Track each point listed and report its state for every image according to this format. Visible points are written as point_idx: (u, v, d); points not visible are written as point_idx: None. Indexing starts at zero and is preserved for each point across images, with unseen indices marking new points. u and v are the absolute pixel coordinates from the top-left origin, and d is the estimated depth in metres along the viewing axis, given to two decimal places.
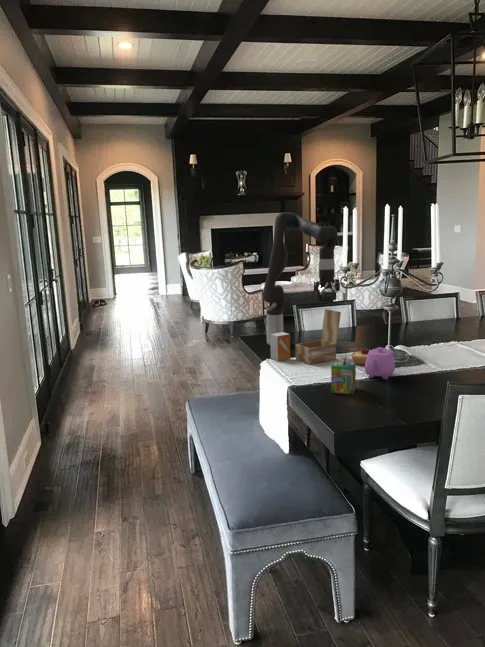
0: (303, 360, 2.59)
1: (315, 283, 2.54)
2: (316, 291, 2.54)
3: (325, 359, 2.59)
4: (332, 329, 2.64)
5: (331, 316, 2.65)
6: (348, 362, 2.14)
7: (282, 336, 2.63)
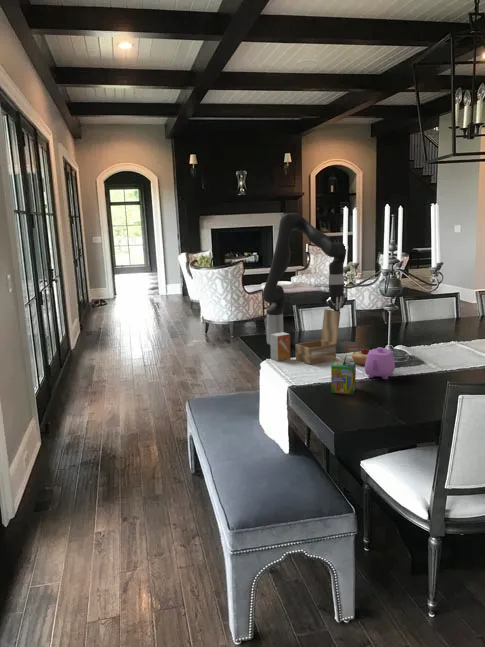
0: (303, 360, 2.59)
1: (327, 302, 2.63)
2: (332, 308, 2.64)
3: (325, 359, 2.59)
4: (332, 329, 2.64)
5: (331, 316, 2.65)
6: (348, 362, 2.14)
7: (282, 336, 2.63)
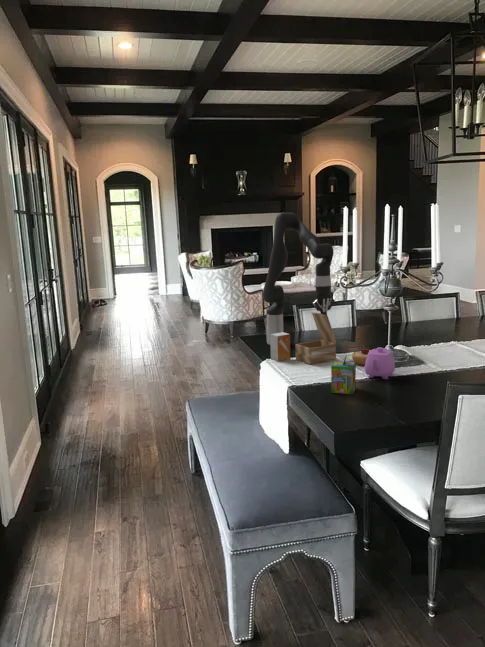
0: (303, 360, 2.59)
1: (314, 304, 2.59)
2: (319, 310, 2.60)
3: (325, 359, 2.59)
4: (327, 331, 2.62)
5: (320, 319, 2.62)
6: (348, 362, 2.14)
7: (282, 336, 2.63)
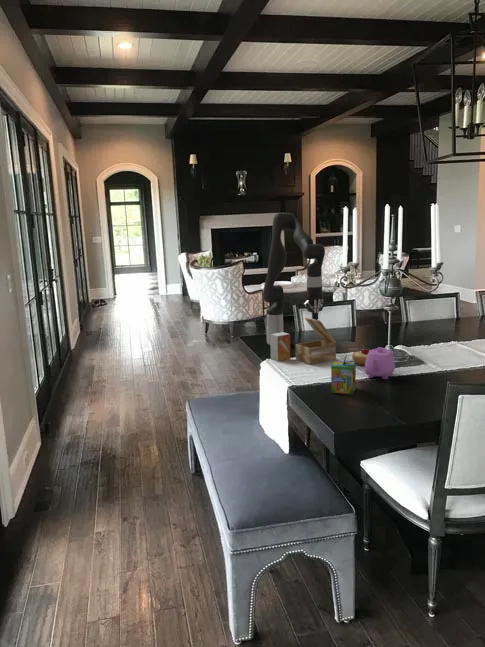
0: (303, 360, 2.59)
1: (305, 305, 2.56)
2: (310, 311, 2.57)
3: (325, 359, 2.59)
4: (324, 333, 2.62)
5: (315, 324, 2.61)
6: (348, 362, 2.14)
7: (282, 336, 2.63)
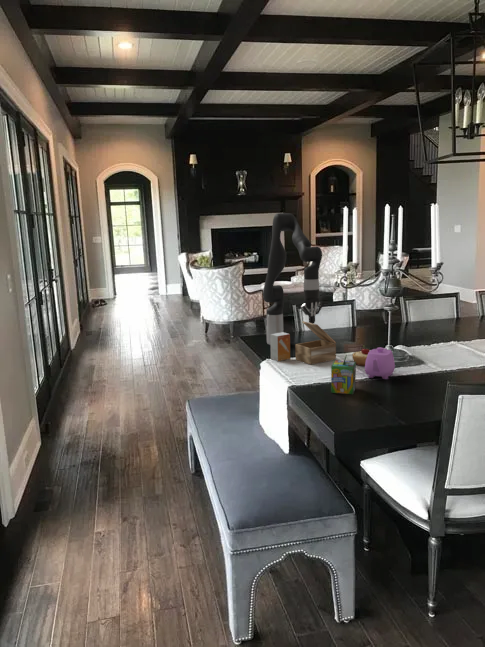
0: (303, 360, 2.59)
1: (302, 308, 2.55)
2: (307, 314, 2.56)
3: (325, 359, 2.59)
4: (323, 335, 2.62)
5: (312, 327, 2.60)
6: (348, 362, 2.14)
7: (282, 336, 2.63)
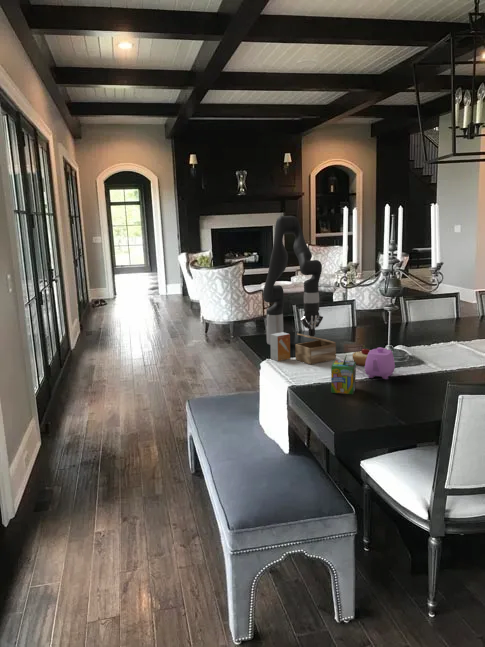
0: (303, 360, 2.59)
1: (302, 321, 2.56)
2: (307, 327, 2.57)
3: (325, 359, 2.59)
4: None
5: None
6: (348, 362, 2.14)
7: (282, 336, 2.63)
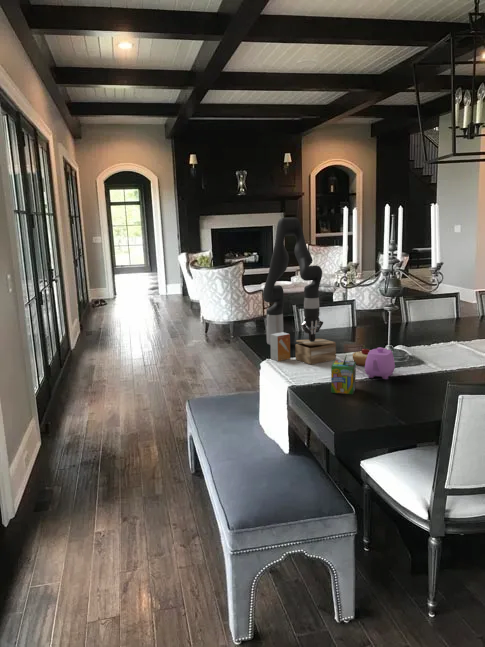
0: (303, 360, 2.59)
1: (302, 326, 2.57)
2: (307, 332, 2.58)
3: (325, 359, 2.59)
4: None
5: None
6: (348, 362, 2.14)
7: (282, 336, 2.63)
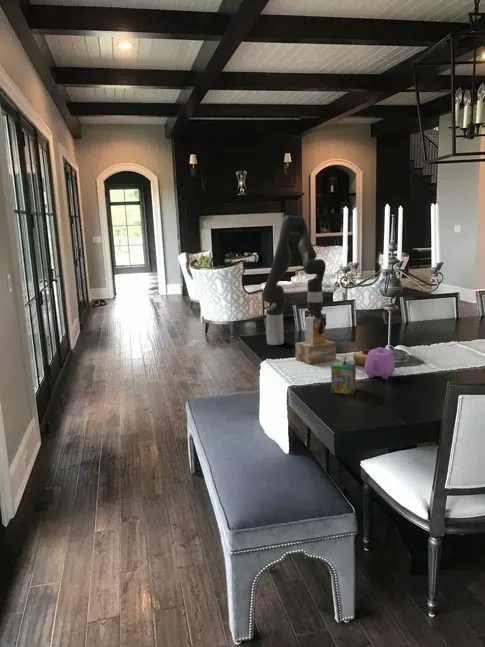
0: (303, 360, 2.59)
1: None
2: None
3: (325, 359, 2.59)
4: None
5: None
6: (348, 362, 2.14)
7: (317, 319, 2.57)
